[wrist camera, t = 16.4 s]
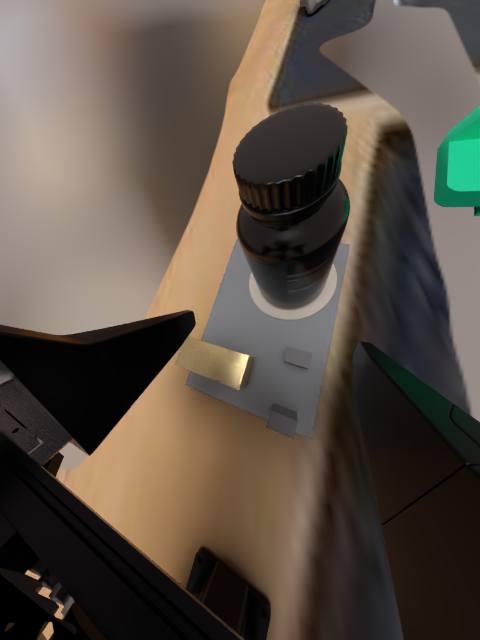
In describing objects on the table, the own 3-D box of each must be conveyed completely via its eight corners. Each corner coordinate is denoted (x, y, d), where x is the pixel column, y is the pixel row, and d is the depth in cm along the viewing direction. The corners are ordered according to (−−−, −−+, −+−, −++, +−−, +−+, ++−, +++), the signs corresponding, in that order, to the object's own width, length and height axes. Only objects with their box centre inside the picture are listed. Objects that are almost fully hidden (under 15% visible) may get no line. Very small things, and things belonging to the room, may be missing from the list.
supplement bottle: (328, 253, 18) (388, 61, 7) (321, 315, 16) (382, 196, 5) (264, 252, 20) (230, 107, 9) (252, 306, 19) (194, 211, 8)
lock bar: (246, 387, 17) (238, 390, 14) (188, 365, 19) (174, 364, 17) (254, 357, 17) (249, 355, 15) (197, 339, 20) (185, 335, 17)
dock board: (309, 435, 15) (315, 456, 11) (190, 384, 19) (166, 387, 16) (347, 250, 19) (360, 221, 15) (239, 243, 23) (229, 219, 19)
